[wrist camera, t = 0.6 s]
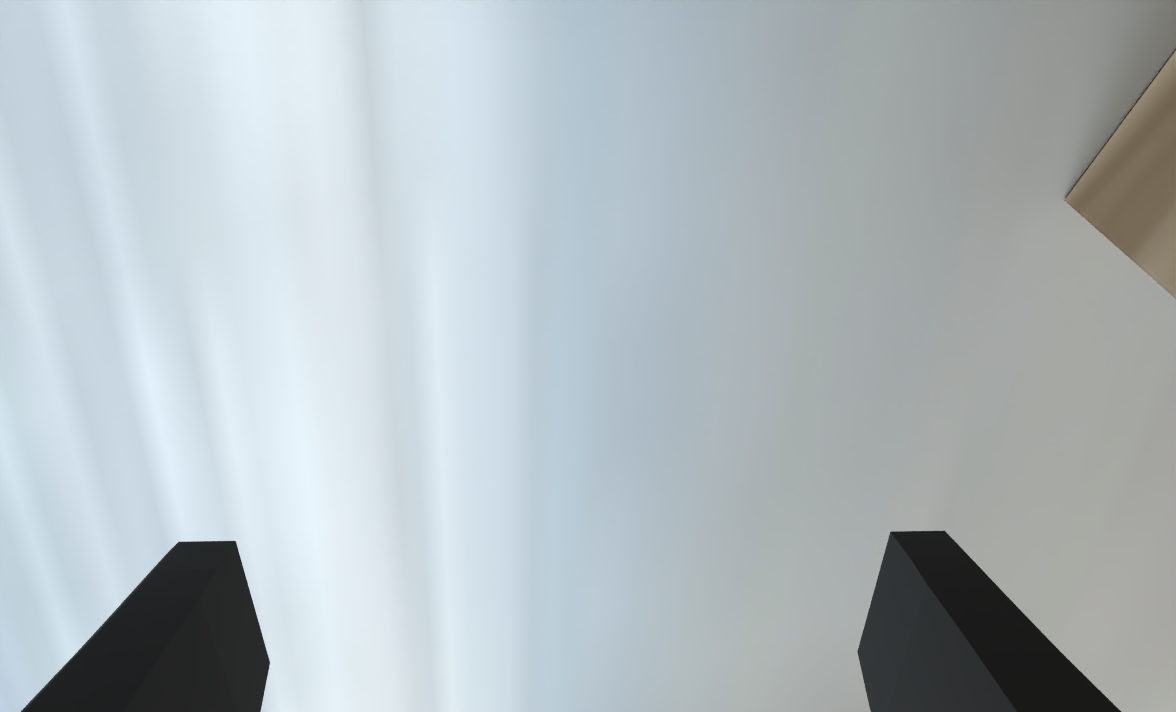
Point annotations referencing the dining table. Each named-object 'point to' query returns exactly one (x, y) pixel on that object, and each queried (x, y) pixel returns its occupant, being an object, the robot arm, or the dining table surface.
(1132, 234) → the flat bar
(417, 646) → the dining table surface
